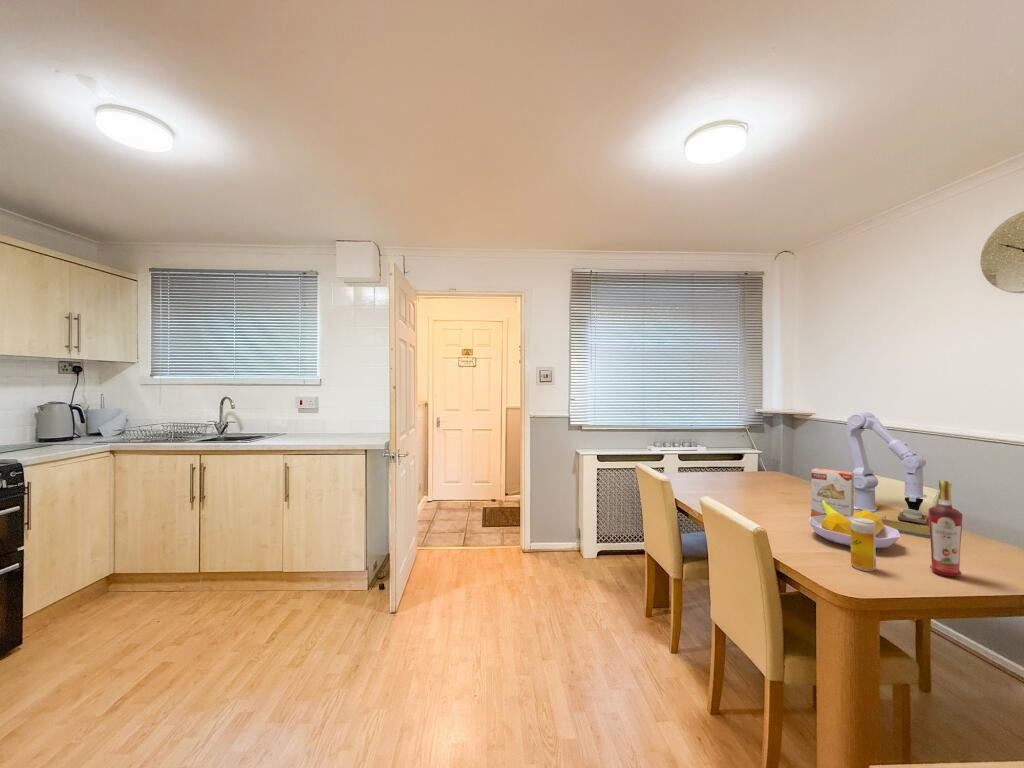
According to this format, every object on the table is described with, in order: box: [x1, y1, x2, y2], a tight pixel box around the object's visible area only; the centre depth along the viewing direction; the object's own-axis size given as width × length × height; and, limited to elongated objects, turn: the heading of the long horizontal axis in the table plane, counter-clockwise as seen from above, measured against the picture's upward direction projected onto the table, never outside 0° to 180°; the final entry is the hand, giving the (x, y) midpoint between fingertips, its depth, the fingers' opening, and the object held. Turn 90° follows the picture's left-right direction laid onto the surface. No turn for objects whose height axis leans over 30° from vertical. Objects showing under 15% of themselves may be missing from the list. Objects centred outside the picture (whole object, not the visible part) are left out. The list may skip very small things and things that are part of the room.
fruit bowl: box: [808, 500, 901, 549], centre depth 161 cm, size 28×27×11 cm
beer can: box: [850, 518, 877, 572], centre depth 137 cm, size 6×6×15 cm
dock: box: [880, 514, 931, 540], centre depth 173 cm, size 16×18×4 cm
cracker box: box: [810, 467, 855, 517], centre depth 185 cm, size 14×6×21 cm, turn 45°
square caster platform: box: [897, 507, 929, 526], centre depth 181 cm, size 10×9×5 cm
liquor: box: [928, 480, 963, 578], centre depth 132 cm, size 7×7×28 cm
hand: (913, 515), depth 185 cm, fingers closed
